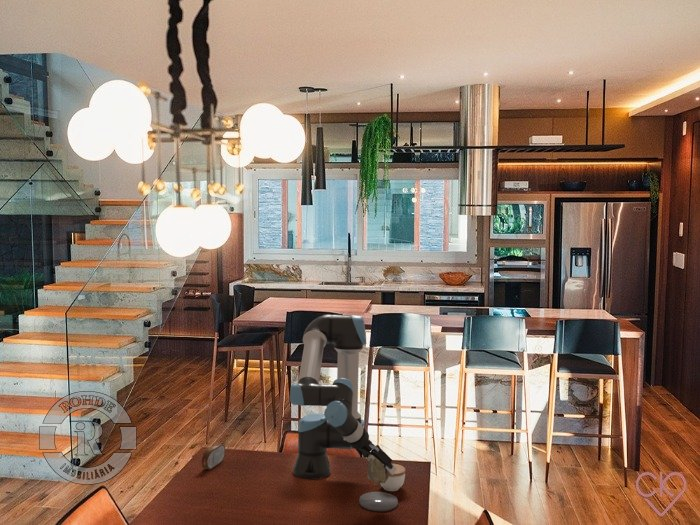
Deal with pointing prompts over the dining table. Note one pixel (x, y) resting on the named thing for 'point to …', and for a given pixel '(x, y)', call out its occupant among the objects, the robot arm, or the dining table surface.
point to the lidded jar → (395, 479)
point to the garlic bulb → (377, 471)
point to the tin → (213, 456)
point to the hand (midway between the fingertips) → (385, 468)
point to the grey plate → (378, 501)
